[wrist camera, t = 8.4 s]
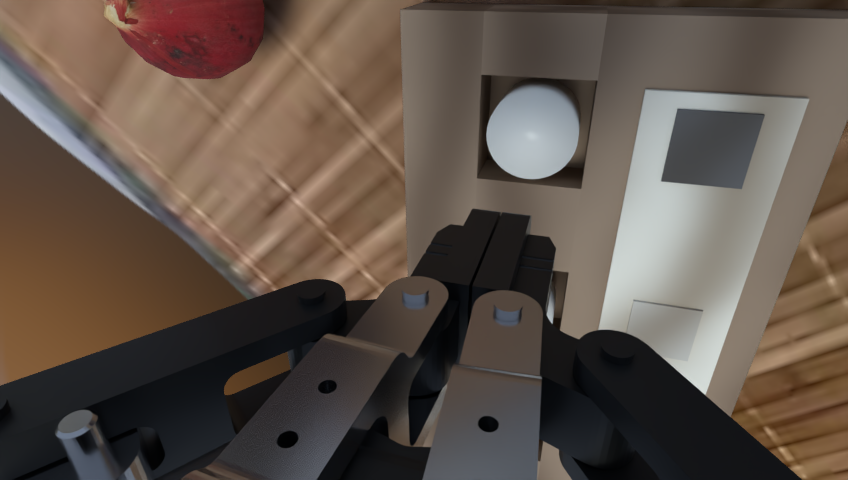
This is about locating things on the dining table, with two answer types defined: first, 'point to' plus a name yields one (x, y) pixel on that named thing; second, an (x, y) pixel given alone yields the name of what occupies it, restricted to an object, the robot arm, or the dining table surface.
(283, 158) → the dining table surface
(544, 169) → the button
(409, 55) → the button board
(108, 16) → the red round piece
